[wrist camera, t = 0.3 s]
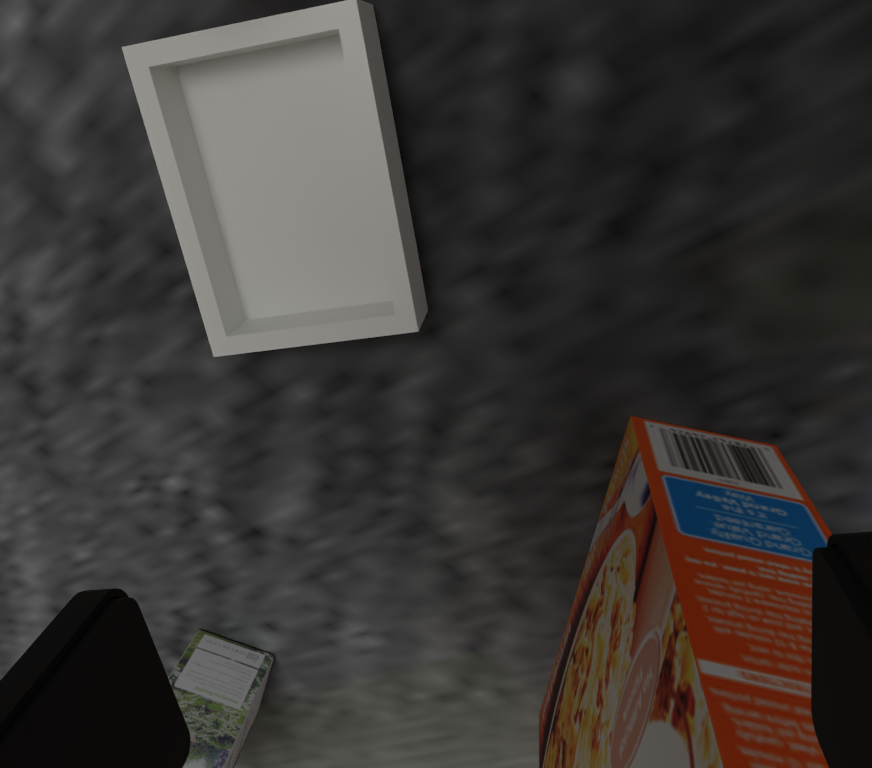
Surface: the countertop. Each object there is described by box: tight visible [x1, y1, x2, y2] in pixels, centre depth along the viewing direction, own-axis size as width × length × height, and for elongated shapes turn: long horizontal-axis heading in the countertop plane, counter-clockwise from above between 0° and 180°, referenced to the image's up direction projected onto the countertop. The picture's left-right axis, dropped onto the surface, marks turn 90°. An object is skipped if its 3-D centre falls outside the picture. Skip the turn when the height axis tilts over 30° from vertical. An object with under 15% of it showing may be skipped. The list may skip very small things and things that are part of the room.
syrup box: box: [168, 630, 274, 768], centre depth 46 cm, size 6×6×14 cm
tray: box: [122, 0, 428, 357], centre depth 37 cm, size 15×11×4 cm
